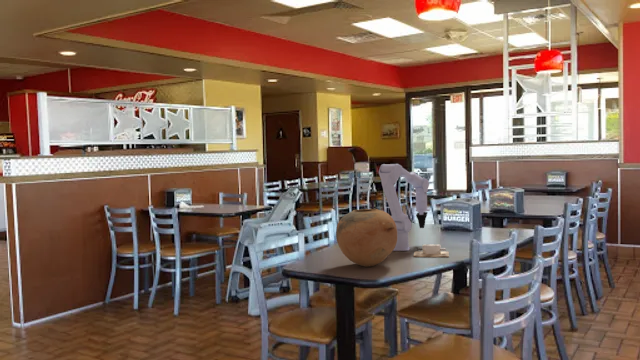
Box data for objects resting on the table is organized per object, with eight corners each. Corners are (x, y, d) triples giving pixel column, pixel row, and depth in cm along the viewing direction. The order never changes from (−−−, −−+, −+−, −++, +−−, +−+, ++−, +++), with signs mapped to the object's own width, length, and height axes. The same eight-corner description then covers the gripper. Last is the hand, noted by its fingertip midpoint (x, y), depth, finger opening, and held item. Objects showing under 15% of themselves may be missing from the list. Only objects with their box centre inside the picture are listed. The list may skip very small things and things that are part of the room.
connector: (417, 254, 264) (417, 245, 264) (417, 252, 268) (417, 244, 267) (446, 254, 261) (445, 245, 261) (445, 252, 265) (445, 244, 265)
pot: (320, 266, 248) (318, 210, 246) (361, 256, 266) (359, 204, 265) (375, 276, 225) (373, 214, 224) (415, 264, 244) (413, 207, 243)
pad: (413, 257, 261) (413, 255, 261) (414, 253, 271) (414, 251, 271) (448, 257, 258) (448, 255, 258) (448, 253, 268) (448, 251, 268)
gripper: (429, 202, 284) (429, 228, 284) (429, 199, 298) (430, 225, 299) (414, 202, 285) (415, 229, 286) (416, 199, 299) (416, 225, 300)
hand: (422, 227), depth 292 cm, fingers open, 7 cm apart
